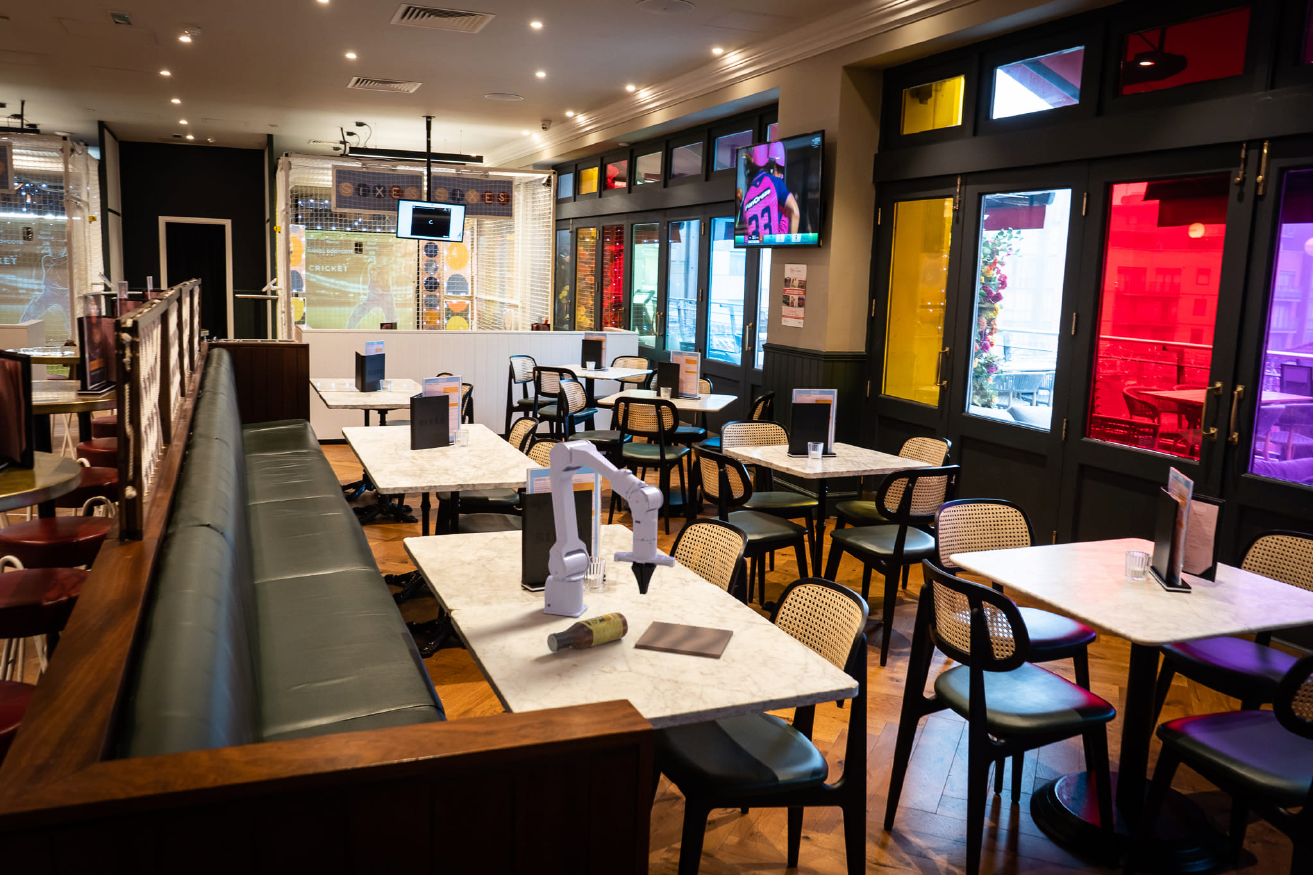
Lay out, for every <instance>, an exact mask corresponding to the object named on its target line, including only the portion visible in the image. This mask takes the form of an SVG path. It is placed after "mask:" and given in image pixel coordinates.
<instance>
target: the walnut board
mask: <svg viewBox="0 0 1313 875" xmlns="http://www.w3.org/2000/svg"><path fill="white" fill-rule="evenodd" d="M733 635H734V630H730V629H729V630H728V629H721V628H712V627H705V626H696V625H688V624H680V623H671V622H663V621H655V620H653V621H652V622H651V624H650V625H649V626H648V628H647V629H646V630H645V631H644V632H643V633H642V635H641V636H640V637H639V638H638V640H637V641H636V642H635V643H634V647H635V648H637V649H647V650H653V651H662V652H671V653H677V654H683V655H684V654H685V655H692V656H698V657H699V656H700V657H707V658H708V657H709V658H714V659H721V658H722V656H723V653H724V652H725V650H726V648H727V647H728V645H729V642H730V641H731V639H732V637H733Z"/></svg>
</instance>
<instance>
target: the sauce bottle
mask: <svg viewBox="0 0 1313 875" xmlns="http://www.w3.org/2000/svg"><path fill="white" fill-rule="evenodd" d="M628 631H629V625H628V621H627V618H626V616H624V614H622V613H621V612H612V613H607V614H603V615H599V616H594V617H591V618H587V619H584V620H579V621H576V622H575V623H573V624H572V625H571V626H570V627H568V628H567V629H565V630H562V631H561V632H553V633H549V635H548V636H547V639H546V640H547V641H546V643H547V646H548V649H549V650H550V651H551V652H552V653H553V652H554V653H556V652H559V651H561V650H563V649H568V648H572V649H575V650H583V649H586V648H591V647H596V646H598V645H602V644H605V643H609V642H612V641H617V640H619V639H622V638H624V637H626V635H627V633H628Z"/></svg>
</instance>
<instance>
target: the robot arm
mask: <svg viewBox="0 0 1313 875" xmlns="http://www.w3.org/2000/svg"><path fill="white" fill-rule="evenodd" d="M548 454H549V456H548V457H549V464H550V466H549V479H550V480H549V481H550V489H551V490H550V491H551V497H552V498H551V499H552V508H553V517H554V527H555V535H556V541H555V543H554V544H553V545H552V547H551V548H550V550H549V560H548V565H547V566H548V571H549V573H550V575H548V576H547V578H546V581H545V584H544V606H543V607H544V608H543V612H542V613H544V614H550V615H557V616H566V617H575V618H579V617H580V616H581V615H582V614H583V613H584V612H585V611H586V610H587V609H588V608H589V605H586V604H585V605H584V577H585V576H586V572H587V571H588V570H589V569H590V566H591V557H590V556H589V553H588V550H587V545H586V544H585V542H584V541H582V540H581V539H580V538H579V532H578V524H577V523H578V522H577V521H578V520H577V514H576V502H575V495H574V494H575V493H574V484H573V477H574V475H575V474H577V473H578V471H579V470H580V469H582V468H584V467H588V468H590V469H591V470H592V471H593V472H595V473H597V474H598V475H599V476H602V477H603V478H605V479H606V480H608V481H609V486H610V488H611V490H613V491H614V492H615V493H617V494H618V495H620V496H621V497H622V498H623V499H624V500H626V501H627V503H628V507H629V508H630V511H631V518H632V522H633V523H632V551H616V552H615V553H613V562H617V563H618V562H622V563H623V562H624V563H632V564H631V566H630V569H631V572H632V573H633V574H634V575H633V576H634V577H635V580H636V582H637V586H638V590H639V595H646V594H648V591H649V585H650V582H651V579H652V577H653V575H654V572H655V570H656V568H657V566H660V567H661V566H662V567H668V568H674V567H675V566H676V557H673V556H667V555H664V554H658V553H657V552H658V551H657V550H658V521H659V520H658V517H659V516H658V515H659V509H660V508H661V507H662V506H663V504H664V495H663V493H662V491H661V489H660V488H658V487H659V486H657V485H655V484H651V485H649V484H647V483H646V482H645V481H643V480H641V479H639V478H638V477H636V475H634V474H633V471H632V470H630V469H625V468H620V469H618V468H617V467H616V466H615V465H614V464H613V463H611V462H610V461H609V460H608V459H607V458H605V456H603V454H602V453H600V452H599V451H598V450H597V447H596V445H595V444H593V443H592V442H591V441H589V439H584V438H581V439H579V440H573V441H572V440H571V441H565V442H557V443H555V444H554V445H553V446H552V447H551V449H550V450H549V452H548Z"/></svg>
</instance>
